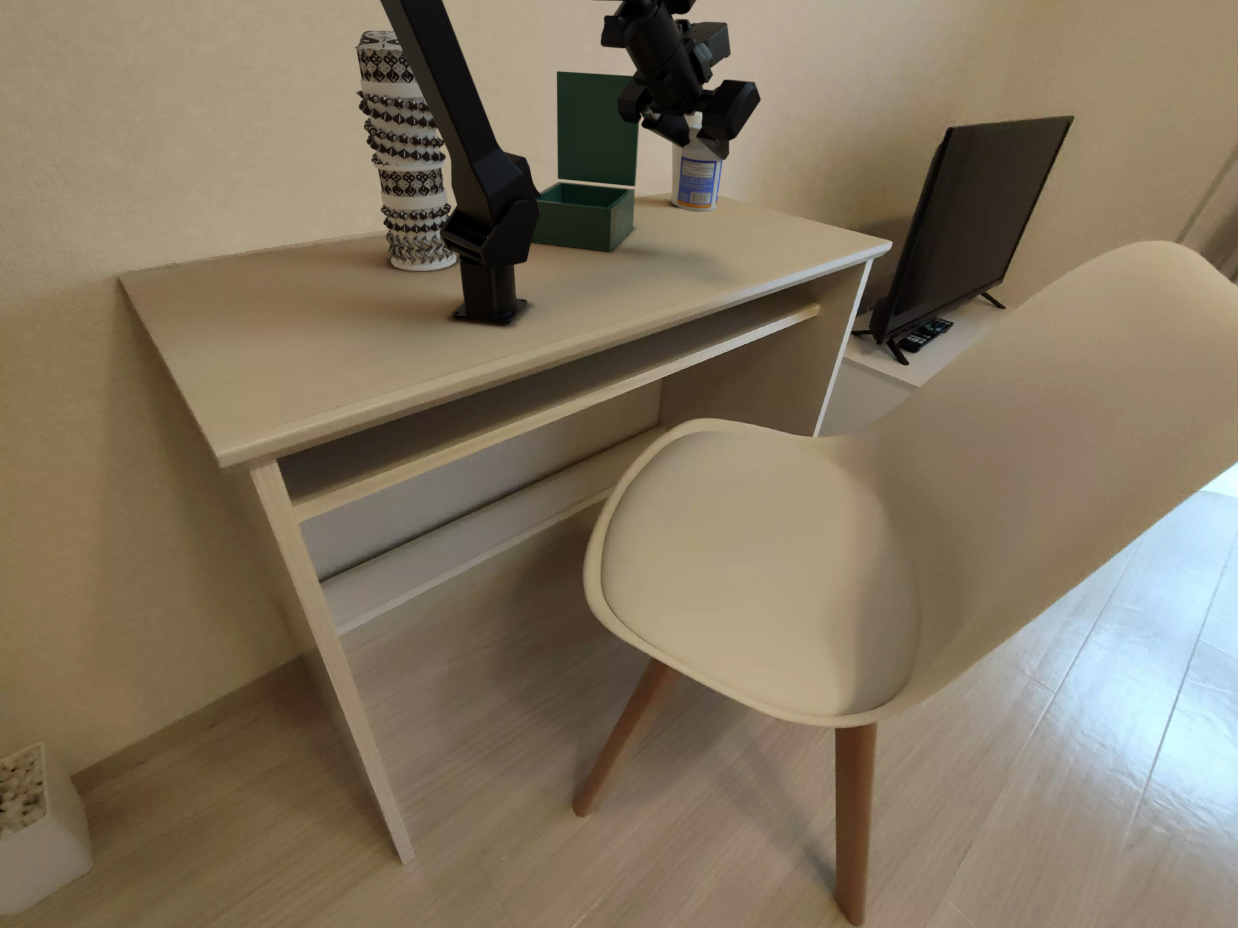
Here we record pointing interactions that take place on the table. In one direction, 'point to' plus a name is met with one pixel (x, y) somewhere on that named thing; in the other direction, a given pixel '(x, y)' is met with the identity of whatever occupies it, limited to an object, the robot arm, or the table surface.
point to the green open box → (584, 216)
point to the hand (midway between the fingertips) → (709, 153)
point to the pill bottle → (698, 175)
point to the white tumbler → (677, 155)
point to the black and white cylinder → (404, 154)
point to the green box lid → (594, 130)
